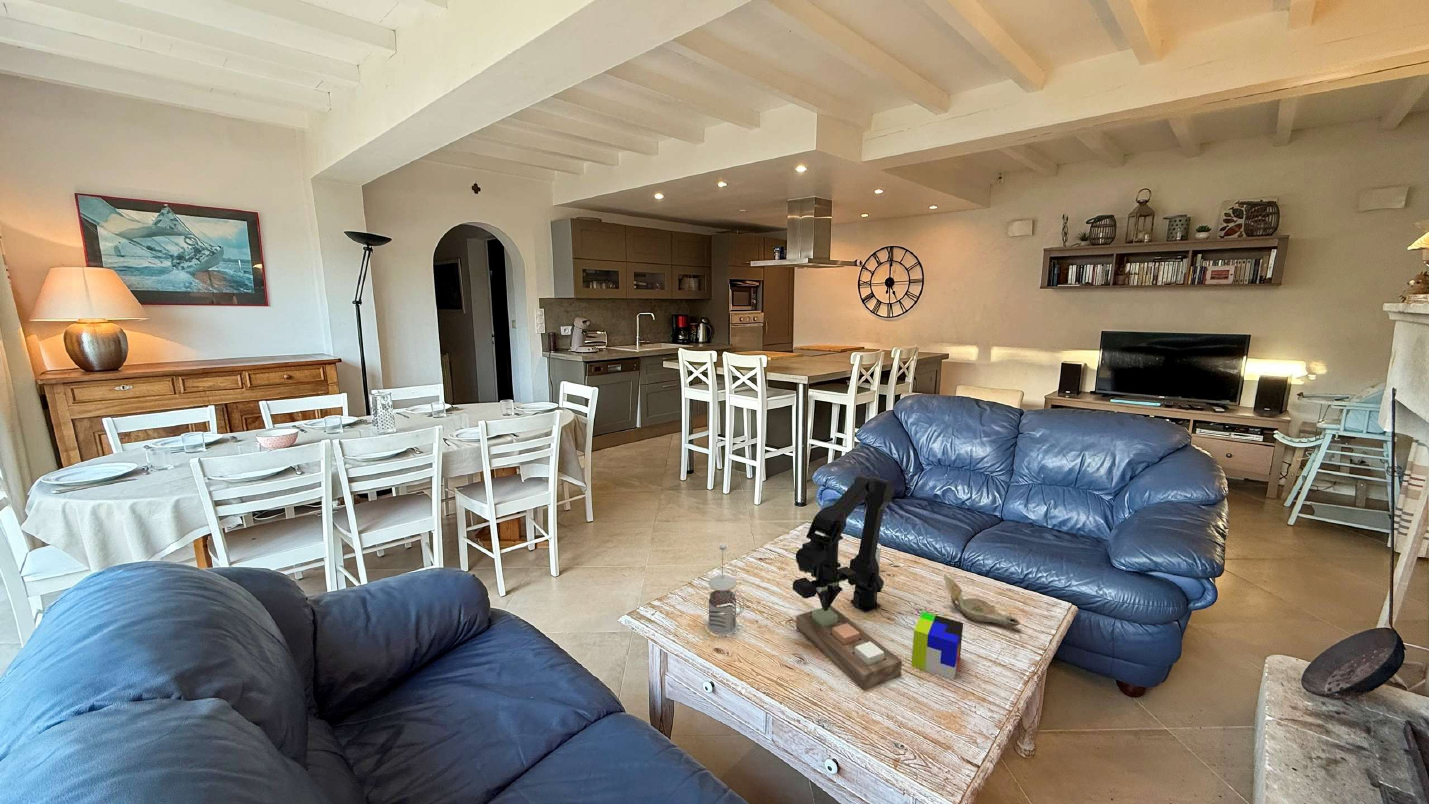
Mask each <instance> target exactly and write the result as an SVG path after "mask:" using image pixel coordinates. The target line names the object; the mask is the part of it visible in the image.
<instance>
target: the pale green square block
mask: <svg viewBox="0 0 1429 804" xmlns="http://www.w3.org/2000/svg"><path fill="white" fill-rule="evenodd" d="M811 611H812V619H813V620H814V621H815V622H817V623H818V624H819V625H820V626H821V627H822V628H823V627H826V626H829V625H832V624H836V623H838V615H836V614H835V613H834V612H833V611H831V610H830V609H828V610H827V611H824V610H823V608H822V607H821V609H820V608H817V609H814V611H813V610H811Z"/></svg>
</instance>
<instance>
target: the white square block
mask: <svg viewBox="0 0 1429 804" xmlns="http://www.w3.org/2000/svg"><path fill="white" fill-rule="evenodd" d="M854 655H855V656H856V657H857V658H859V659H860V660H861V661H862V662H863V663H865V664H866V665H867V666H871V665H873V664H876V663H879V662H881V661H884V652H883V651H882V650H881V649H879V648H878V647H877V646H876V645H874V644H873V643H872V642H871V641H870V642H867V643H864V644H861V645H858V646H855V654H854Z"/></svg>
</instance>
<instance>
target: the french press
mask: <svg viewBox="0 0 1429 804" xmlns="http://www.w3.org/2000/svg"><path fill="white" fill-rule="evenodd" d="M726 549H727V546H726V544H724V543H723V544H720V545H719V550H720V551H722V552H721V554H722V555H721V557H722V558H721V561H722V562H721V563H722V565H721V567H722V568H721V571H722V572H721V574H718V575H714V576H713V577H710V579H709V580H708V583H707V585H708V586H709V588H710V589H712V590H713V591H712V592H710V594H709V600H708V621H709V622H708V621H707V622H708V623H707V622H706V624H707V629H708V630H709V631H710V632H712V633H713V634H716V635H719V636H727V635H732V634H734V633H735V632H736V631H737V630H738V627H739V628H740V625H738V624H739V623H738V622H737V617H739V616H740V615H741V614H742V613H743V612H744V610H745V600H744V597H743V595H742V594H741V592H740V591H739V590H737V589H736V590H735V592H733V591H731V590H733V589H735V588H736V587H737V584H738V581H737V579H735V578H734V577H732V576H730V575H728V574H724V551H725V550H726ZM737 593H738V594H739V595H740V597H741V599H742V603H743V605H742V603H741V601H740V599H739V596H738V595H737ZM737 600H738V603H739V612H738V613H737ZM722 605H723V606H722ZM734 635H735V634H734Z"/></svg>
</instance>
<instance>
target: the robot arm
mask: <svg viewBox="0 0 1429 804" xmlns="http://www.w3.org/2000/svg"><path fill="white" fill-rule="evenodd" d="M894 494H895V486H894V485H893V483H892V481H891V480H887V479H882V478H878V477H875V476H870V477H867V476H863V475H858V476H856V477H855V478H854V481H853V483H851V485H850V486H849V487H848V488H847V489H846V491H844V492H843V494H841V496H840V497H839V498H838V499H837V500H836V502H834V503H833V504H831V505H829V506H828V505H827V506H825V507H823V508H822V509H821V510H819V512H817V513H816V514H815V515H814V518H813V520H812V522H811V525H810V527H809V529H808V531H807V533H806V536H805V537H806V539H809V540H810V541H807V542H804V543H802V545H801V548H799V549H798V550H797V551H796V553H795V561H796V563H797V566H798V567H797V568H798V570H799V571H800V572H803V573H805V574H810V576H811V577H812V578H815V579H814V580H810V579H808V578H807V577H802V578H797V579H795V580H794V581H792V590H793V591H794V592H795V593H796V594H797V595H799V596H800V597H801V598H803V599H805V600H806V599H810V598H813V597H815V596H816V595H817V596H818V599H819V602H820V605H821V608H823V610H824V611H827V610H828V609H829V607H830V606H832V604H833V602H834V600H835V599H836V598H837V597H838V595H839V594H840V592H842V591H843V587H841V585H840V583H841V582H845V581H847V583H848V584H849V585H850V586H852V587H853V586H854V590H853V599H851V600H850V603H851V604H853V605H854V606H855V607H856V608H858V609H859V610H860V611H862V612H864V613H865V612H866V613H867V612H869V611H872V610H875V609H878V608H881V604H879V603H878V593H881V592H882V590H883V588H884V584H885V583H884V582H885V581H884V579H882V577H881V576H880V575H879V572H880V564H879V565H878V563H877V560H876V557H875V556H876V550H877V544H878V543H879V538H880V532H881V526H882V520H883V515H884V510H885V509H886V508H887V506H888V505H890V504H891V502H892V499H893V496H894ZM863 501H864V502H865V505H866V508H865V514H864V520H863V525H862V532H861V537H860V543H859V549H858V553H857V554H856V556H855V557H854V558H851V559H850V560H849V566H844V567H841V566H842V565H841V562H839V542H840V541H841V540H843V539H844V537H843V536H842V534H843V532H844V530H845V528H846V527H847V519H848V518H849V516H850V515H852V513H853V512H854V510H855V509H857V507H858V506H859V505H860V504H861V502H863ZM816 532H817V533H816ZM818 533H820V534H818ZM822 534H823V535H822Z"/></svg>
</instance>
